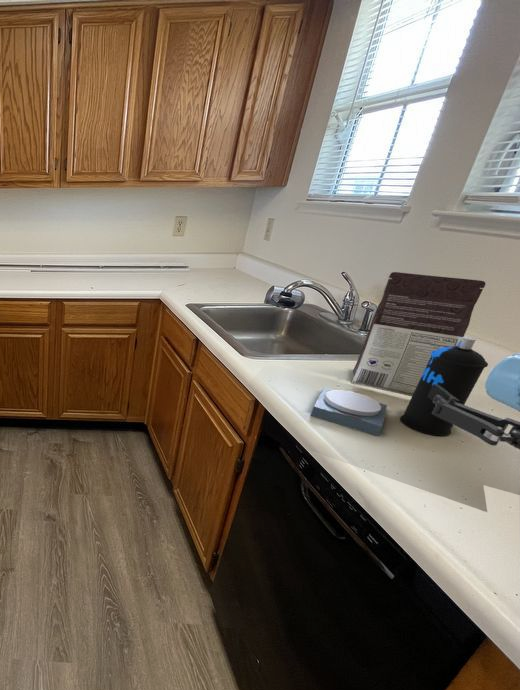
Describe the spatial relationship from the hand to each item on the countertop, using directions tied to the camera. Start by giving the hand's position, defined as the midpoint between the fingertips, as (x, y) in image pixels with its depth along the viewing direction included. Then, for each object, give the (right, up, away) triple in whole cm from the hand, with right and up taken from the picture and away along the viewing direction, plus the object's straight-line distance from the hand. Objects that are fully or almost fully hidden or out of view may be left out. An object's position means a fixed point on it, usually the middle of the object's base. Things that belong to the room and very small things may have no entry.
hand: (477, 395), depth 76 cm
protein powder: (+10, +1, +29) cm, 31 cm away
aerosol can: (+3, -7, +13) cm, 15 cm away
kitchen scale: (-11, -5, +17) cm, 20 cm away
